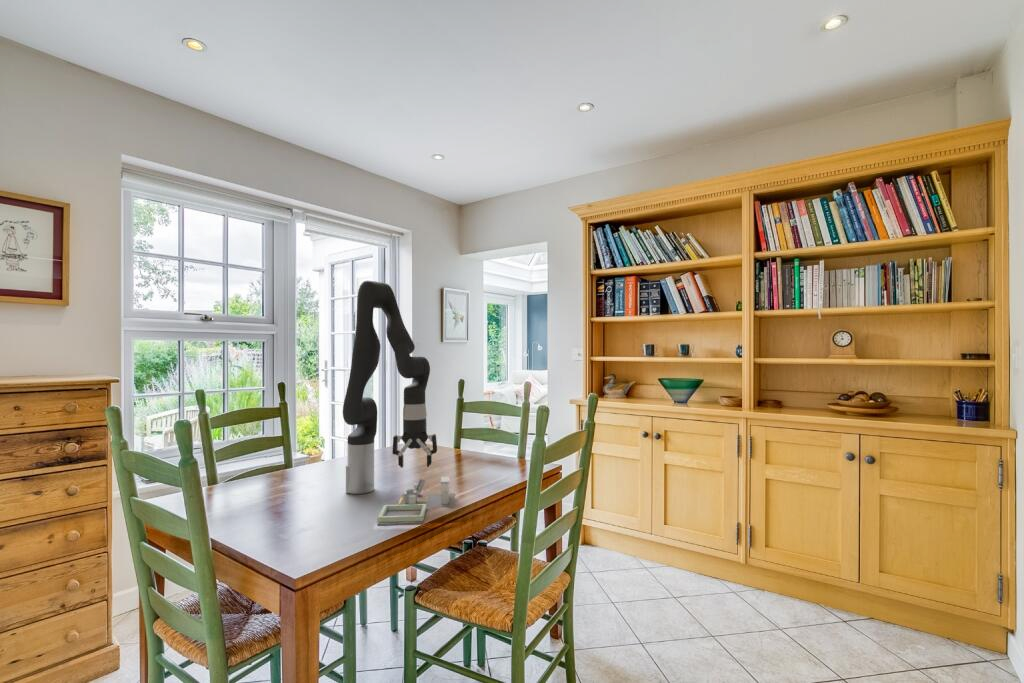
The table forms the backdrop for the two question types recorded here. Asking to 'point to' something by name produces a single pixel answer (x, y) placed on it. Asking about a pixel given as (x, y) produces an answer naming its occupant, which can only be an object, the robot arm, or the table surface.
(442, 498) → the fuse panel
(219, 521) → the table surface
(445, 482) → the block
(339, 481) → the table surface
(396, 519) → the tray
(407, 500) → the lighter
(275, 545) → the table surface
